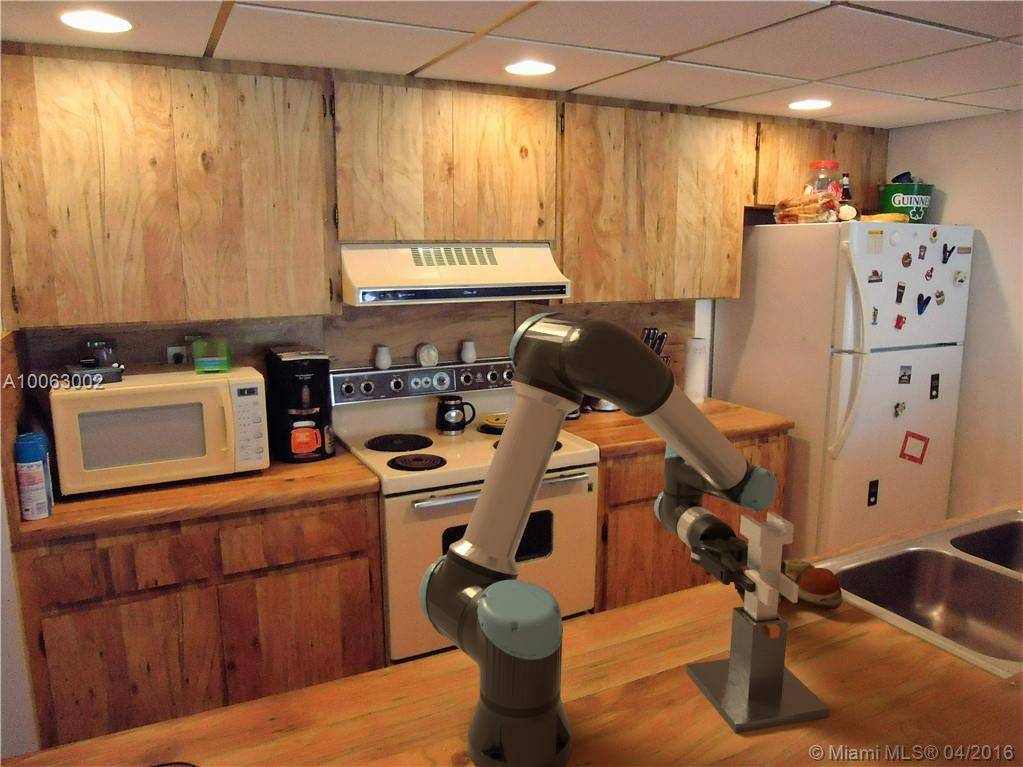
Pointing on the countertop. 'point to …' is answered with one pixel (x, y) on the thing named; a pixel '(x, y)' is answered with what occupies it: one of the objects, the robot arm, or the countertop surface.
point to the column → (765, 560)
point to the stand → (756, 679)
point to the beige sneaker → (811, 585)
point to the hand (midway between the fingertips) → (782, 595)
